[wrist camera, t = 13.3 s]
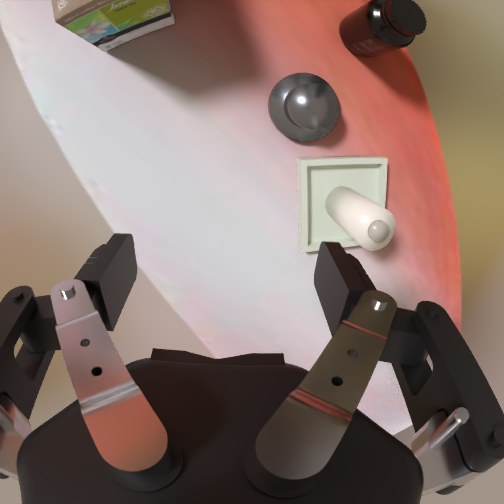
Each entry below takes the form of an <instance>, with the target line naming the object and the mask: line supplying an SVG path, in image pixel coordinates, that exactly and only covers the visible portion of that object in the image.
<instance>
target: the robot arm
mask: <svg viewBox="0 0 504 504" xmlns="http://www.w3.org/2000/svg"><path fill="white" fill-rule="evenodd" d="M136 275H137V263H136V256H135V249H134V241H133V236H132V235H131V234H120V233H115V234H113V236H112V237H111V238H110V240H109V241H108V242H107V244H103V245H101V246H100V247H98V248H97V249H95V250H94V252H93V253H92V254H91V255H90V258H88V260H87V261H86V264H84V265H83V266H82V268H81V269H80V271H79V272H78V274H77V275H76V276H75V278H74V279H70V280H65V281H62V282H60V283H58V284H57V285H56V286H55V287H54V288H53V289H52V291H51V294H50V295H46V296H39V297H35V295H34V293H33V290H32V289H31V287H28V286H19V287H16V288H14V289H12V290H10V291H9V292H8V293H7V294H6V295H5V297H4V298H3V299H2V301H1V302H0V479H6V478H8V477H11V478H14V479H16V480H18V481H19V484H20V490H21V497H22V504H420V499H421V496H424V495H427V494H430V493H433V492H436V493H438V494H441V495H446V494H450V493H452V492H454V491H455V490H457V489H459V488H460V487H462V486H464V485H465V484H467V483H469V482H470V481H471V480H473V479H475V478H476V477H478V476H479V475H481V474H482V473H484V472H485V471H487V470H488V469H490V468H491V467H492V466H494V465H495V464H497V463H498V462H499V461H501V460H502V459H503V458H504V414H503V412H502V409H501V407H500V405H499V403H498V401H497V399H496V397H495V395H494V393H493V391H492V389H491V387H490V385H489V383H488V381H487V379H486V378H485V376H484V374H483V372H482V370H481V368H480V367H479V365H478V363H477V361H476V359H475V358H474V356H473V354H472V352H471V351H470V349H469V347H468V346H467V344H466V342H465V341H464V339H463V337H462V336H461V334H460V332H459V331H458V329H457V328H456V326H455V324H454V323H453V321H452V320H451V318H450V317H449V315H448V314H447V312H446V311H445V310H444V308H442V307H441V306H440V305H438V304H436V303H434V302H431V301H422V302H419V303H418V305H417V307H416V309H415V311H412V310H407V309H402V308H398V307H397V303H396V301H395V300H394V299H393V298H392V297H391V296H390V295H388V294H387V293H384V292H382V291H378V290H376V288H375V286H374V285H373V283H372V281H371V280H370V278H369V276H368V275H367V274H366V272H365V270H364V269H363V267H362V265H361V264H360V262H359V260H358V259H356V258H355V257H354V256H352V255H351V254H347V253H346V252H345V250H344V249H343V247H342V246H341V244H340V243H339V242H328V241H322V242H321V244H320V248H319V253H318V258H317V263H316V268H315V273H314V285H315V288H316V291H317V294H318V297H319V300H320V303H321V305H322V308H323V311H324V314H325V317H326V320H327V323H328V326H329V329H330V332H331V335H332V338H331V340H330V341H329V343H328V344H327V346H326V347H325V349H324V350H323V352H322V353H321V355H320V356H319V358H318V359H317V361H316V362H315V364H314V365H313V367H312V368H311V369H310V371H307V370H305V369H303V368H301V367H298V366H295V365H292V364H288V363H285V361H284V354H283V353H270V354H260V353H251V354H245V355H240V356H234V357H228V358H222V359H214V358H210V357H206V356H202V355H198V354H194V353H190V352H187V351H179V350H166V349H155V348H153V351H152V354H151V358H145V359H141V360H137V361H134V362H131V363H129V364H127V365H124V363H123V361H122V360H121V357H120V356H119V354H118V352H117V350H116V348H115V346H114V344H113V342H112V340H111V338H110V336H109V334H108V332H107V331H113V330H114V328H115V325H116V323H117V321H118V318H119V316H120V314H121V311H122V309H123V307H124V304H125V302H126V300H127V297H128V295H129V293H130V291H131V288H132V286H133V284H134V282H135V280H136ZM19 337H20V338H21V340H22V342H23V345H22V347H21V349H20V351H19V353H18V355H17V357H16V358H15V357H14V347H15V344H16V342H17V340H18V339H19ZM55 350H62V353H63V357H64V360H65V363H66V366H67V369H68V372H69V375H70V378H71V381H72V384H73V387H74V389H75V392H76V395H77V398H78V399H77V400H76V401H74V402H73V403H72V404H70V405H69V406H67V407H66V408H65V409H63V410H62V411H61V412H59V413H58V414H56V415H55V416H53V417H52V418H51V419H49V420H48V421H46V422H45V423H44V424H43V425H41V426H39V427H38V428H37V429H35V430H34V431H32V429H31V424H30V422H29V418H30V415H31V412H32V409H33V407H34V403H35V400H36V398H37V395H38V393H39V390H40V387H41V385H42V382H43V379H44V377H45V374H46V372H47V369H48V367H49V364H50V362H51V360H52V357H53V355H54V353H55ZM428 355H429V356H430V358H431V360H432V363H433V372H432V370H431V368H430V366H429V364H428V362H427V360H426V358H427V357H428ZM378 361H383V362H389V363H392V366H393V369H394V371H395V374H396V377H397V380H398V382H399V385H400V388H401V391H402V393H403V396H404V399H405V402H406V405H407V408H408V411H409V414H410V417H411V420H412V423H413V426H414V430H415V433H416V434H415V435H414V436H413V439H412V442H411V449H412V450H410V449H409V448H408V447H407V446H406V445H404V444H403V443H402V442H400V441H399V440H397V439H396V438H395V437H393V436H392V435H391V434H389V433H388V432H387V431H385V430H384V429H383V428H382V427H380V426H379V425H378V424H376V423H375V422H374V421H372V420H371V419H370V418H368V417H367V416H366V415H365V414H363V413H362V412H361V411H359V410H358V409H357V406H358V404H359V402H360V400H361V398H362V396H363V394H364V392H365V389H366V387H367V385H368V383H369V381H370V378H371V376H372V374H373V372H374V369H375V367H376V365H377V362H378Z"/></svg>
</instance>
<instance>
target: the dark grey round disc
mask: <svg viewBox="0 0 504 504" xmlns="http://www.w3.org/2000/svg"><path fill="white" fill-rule="evenodd" d="M268 109H269V114H270V118H271V120H272V122H273V124H274V125H275V127H276V128H277V129H278V130H279V131H280V132H281V133H282V134H284V135H285V136H287V137H289V138H291V139H294V140H298V141H303V142H309V141H315V140H318V139H321V138H322V137H324V136H326V135H327V134H328V133H329V132H330V131H331V130H332V129H333V127H334V126H335V124H336V122H337V119H338V115H339V103H338V99H337V96H336V94H335V92H334V90H333V89H332V87H331V86H330V85H329V84H328V83H327V82H326V81H325V80H323V79H322V78H320V77H318V76H316V75H313V74H309V73H296V74H292V75H289V76H287V77H285V78H284V79H282V80H281V81H279V82H278V83H277V84H276V85H275V87H274V88H273V90H272V92H271V94H270V97H269V103H268Z"/></svg>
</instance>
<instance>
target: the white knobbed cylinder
mask: <svg viewBox="0 0 504 504" xmlns="http://www.w3.org/2000/svg"><path fill="white" fill-rule="evenodd" d="M325 208H326V212H327V214H328V215H329V216H330V217H331V218H332V219H333V220H334V221H335V222H336V223H337V224H338V225H340V226H341V227H342V228H343V229H344V230H345V231H346V232H347V233H348V234H349V235H350V236H351V237H352V238H353V239H354V240H355V241H356V242H358V243H359V244H360V245H361V246H362V247H363V248H364V249H366V250H369V251H376V250H379V249H381V248H383V247H385V246H386V245H387V244H388V243H389V242H390V240H391V239H392V237H393V235H394V232H395V219H394V217H393V215H392V214H391V213H390V212H389V211H388V210H386V209H385V208H383V207H382V206H380V205H378V204H377V203H375V202H373V201H372V200H370V199H368V198H367V197H365V196H363V195H362V194H360V193H358V192H357V191H355V190H353V189H352V188H350V187H347V186H339V187H336V188H335V189H333V190H332V191H331V192H330V193H329V194H328V196H327V198H326V202H325Z"/></svg>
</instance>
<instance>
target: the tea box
mask: <svg viewBox="0 0 504 504" xmlns="http://www.w3.org/2000/svg"><path fill="white" fill-rule="evenodd" d="M52 6H53V13H54V19H55V22H56V23H58V24H60V25H61V26H63V27H65V28H66V29H68V30H70V31H71V32H73V33H75V34H76V35H78V36H80V37H81V38H83V39H84V40H86V41H88V42H89V43H91V44H93V45H95V46H96V47H97V48H99V49H101V50H102V51H104V52H106V51H108V50H110V49H112V48H114V47H116V46H118V45H120V44H123V43H125V42H127V41H130V40H132V39H135V38H137V37H140V36H142V35H145V34H147V33H150V32H152V31H155V30H158V29H161V28H164V27H167V26H170V25H173V24H174V23H175V20H174V16H173V13H172V9H171V6H170V2H169V0H52Z"/></svg>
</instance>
